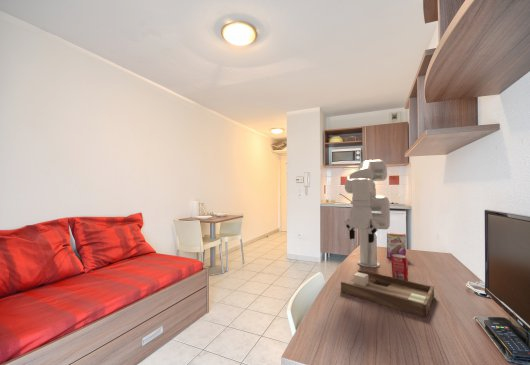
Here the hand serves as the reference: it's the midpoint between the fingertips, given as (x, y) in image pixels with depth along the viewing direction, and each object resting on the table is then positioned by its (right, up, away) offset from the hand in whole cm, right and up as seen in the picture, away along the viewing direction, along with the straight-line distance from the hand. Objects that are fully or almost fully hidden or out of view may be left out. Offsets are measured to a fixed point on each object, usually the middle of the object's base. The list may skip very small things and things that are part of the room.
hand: (361, 240), depth 114 cm
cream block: (0, -20, -1) cm, 20 cm away
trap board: (+8, -22, -8) cm, 24 cm away
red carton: (+22, -22, +6) cm, 32 cm away
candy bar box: (+43, -24, +48) cm, 69 cm away
